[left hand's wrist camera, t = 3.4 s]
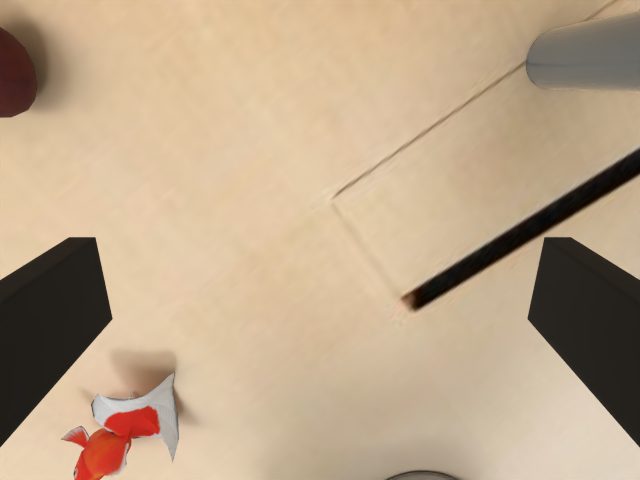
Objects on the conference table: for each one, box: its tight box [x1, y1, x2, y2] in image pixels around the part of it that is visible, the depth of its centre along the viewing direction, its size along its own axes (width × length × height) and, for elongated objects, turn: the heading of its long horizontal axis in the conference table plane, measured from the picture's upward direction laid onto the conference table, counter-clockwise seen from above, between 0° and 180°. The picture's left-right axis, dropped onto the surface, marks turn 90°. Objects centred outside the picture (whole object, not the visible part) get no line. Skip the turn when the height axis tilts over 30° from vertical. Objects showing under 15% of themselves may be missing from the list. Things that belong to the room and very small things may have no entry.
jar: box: [526, 9, 640, 93], centre depth 28 cm, size 5×5×17 cm
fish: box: [61, 372, 179, 480], centre depth 45 cm, size 11×16×10 cm
